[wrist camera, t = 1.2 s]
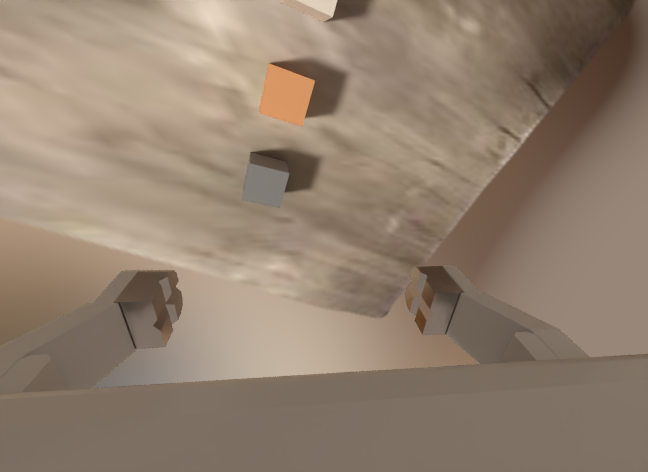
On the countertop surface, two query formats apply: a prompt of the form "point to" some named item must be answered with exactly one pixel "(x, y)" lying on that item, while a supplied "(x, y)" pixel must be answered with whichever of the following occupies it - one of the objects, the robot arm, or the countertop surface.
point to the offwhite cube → (313, 7)
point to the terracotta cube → (286, 95)
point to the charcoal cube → (265, 180)
